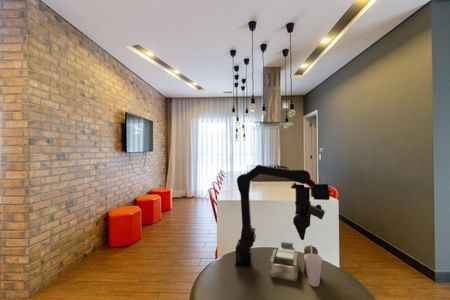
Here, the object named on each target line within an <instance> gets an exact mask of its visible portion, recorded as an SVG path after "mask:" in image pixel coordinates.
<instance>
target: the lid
mask: <svg viewBox="0 0 450 300" xmlns="http://www.w3.org/2000/svg"><path fill="white" fill-rule="evenodd" d="M293 245H294V243H293V242H288V241H281V242H280V245H278V249H277V254H276V258H281V259H288V260H293V259H294V254H295V252H296V247H294V246H293Z"/></svg>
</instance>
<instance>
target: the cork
mask: <svg viewBox="0 0 450 300" xmlns="http://www.w3.org/2000/svg"><path fill="white" fill-rule="evenodd" d="M303 252H304V255H305V254H311V245H306V246H305V247H304V248H303ZM312 254H317V255H318V254H319V251H318V248H317V247H316V246H313V245H312ZM303 276H304V277H305V278H307V279H308V276H307V269H306V263H305V262H304V265H303Z"/></svg>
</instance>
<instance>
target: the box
mask: <svg viewBox="0 0 450 300" xmlns="http://www.w3.org/2000/svg"><path fill="white" fill-rule="evenodd" d="M277 251H278V249H277V248H274V249H273V251H272V255H270V256H271V257H270V259H269V277H270V278H275V279H280V280H286V281H292V282H295V283H296V282H298V273H299V252H298V251H295V253H294V259H293V260H288V259H281V258H276V254H277Z"/></svg>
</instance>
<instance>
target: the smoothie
mask: <svg viewBox="0 0 450 300" xmlns="http://www.w3.org/2000/svg"><path fill="white" fill-rule="evenodd" d="M310 246H311V254H305V253H304V255H303V259H304V264H305V263H306V269H307V276H308V278H307V281H308V284H309V286H311V287H319V286H320V283H321V282H320V280H321V270H322V263H323V261H324V260H323V257H322V256H321V255H317V254H312V246H313V244H310Z"/></svg>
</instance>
